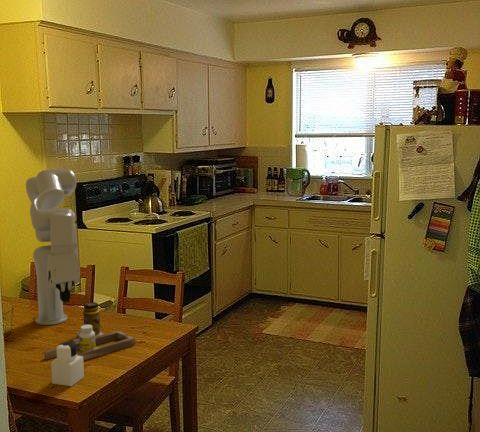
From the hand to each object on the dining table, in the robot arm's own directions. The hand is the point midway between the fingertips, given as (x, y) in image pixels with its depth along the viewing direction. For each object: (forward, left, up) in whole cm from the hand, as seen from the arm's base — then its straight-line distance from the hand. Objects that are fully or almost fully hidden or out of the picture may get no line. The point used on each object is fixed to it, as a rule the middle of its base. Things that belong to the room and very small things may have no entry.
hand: (65, 301), depth 188 cm
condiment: (-16, +17, -21) cm, 31 cm away
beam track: (-1, +9, -20) cm, 22 cm away
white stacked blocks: (+16, -8, -21) cm, 28 cm away
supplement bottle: (+1, +7, -21) cm, 22 cm away
